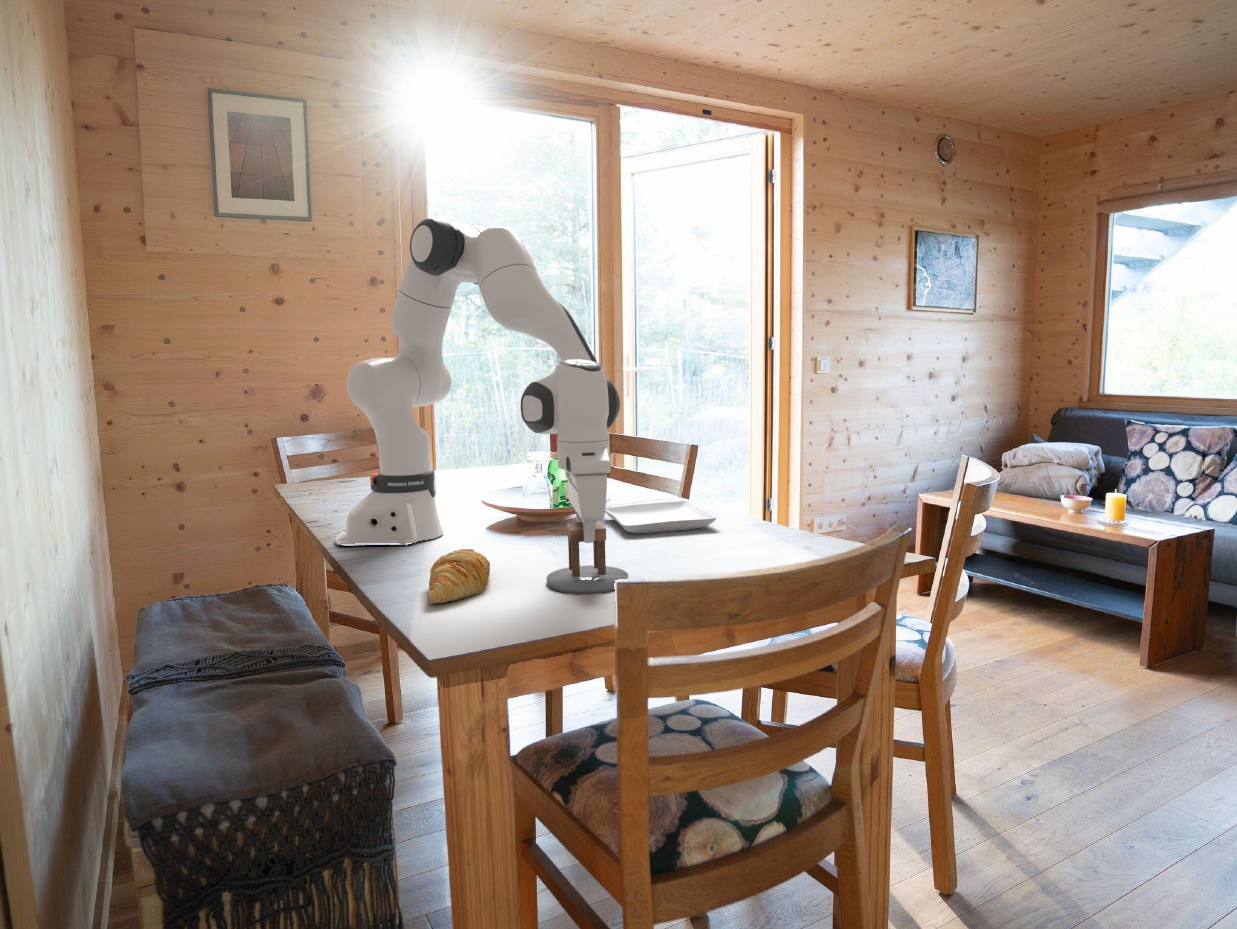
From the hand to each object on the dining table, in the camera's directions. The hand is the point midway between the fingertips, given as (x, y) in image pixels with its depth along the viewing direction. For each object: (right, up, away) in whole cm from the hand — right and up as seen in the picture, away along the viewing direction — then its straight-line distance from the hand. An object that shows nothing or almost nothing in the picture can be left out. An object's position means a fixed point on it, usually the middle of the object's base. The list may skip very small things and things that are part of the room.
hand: (585, 537), depth 138 cm
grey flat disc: (0, -8, +1) cm, 8 cm away
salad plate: (+14, -2, +46) cm, 48 cm away
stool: (0, -6, +1) cm, 6 cm away
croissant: (-21, -9, -1) cm, 23 cm away
